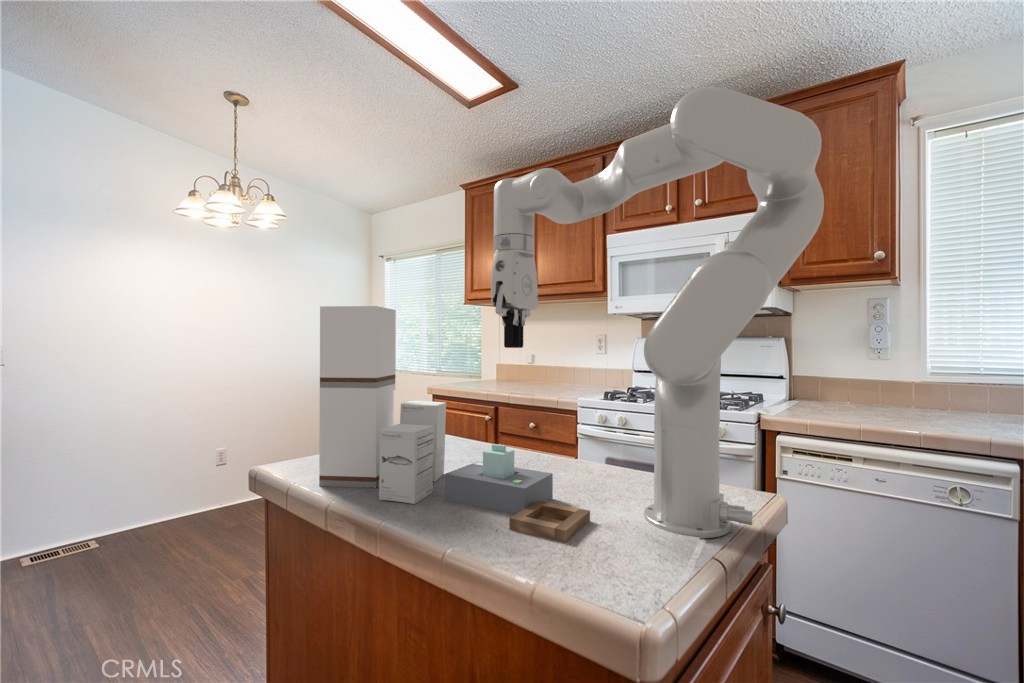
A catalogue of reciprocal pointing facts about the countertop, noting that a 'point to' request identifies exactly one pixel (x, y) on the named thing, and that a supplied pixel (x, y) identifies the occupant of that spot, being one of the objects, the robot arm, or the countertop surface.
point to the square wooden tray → (550, 521)
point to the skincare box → (429, 416)
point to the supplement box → (406, 463)
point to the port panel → (498, 488)
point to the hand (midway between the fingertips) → (513, 347)
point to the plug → (498, 462)
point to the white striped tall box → (355, 392)
